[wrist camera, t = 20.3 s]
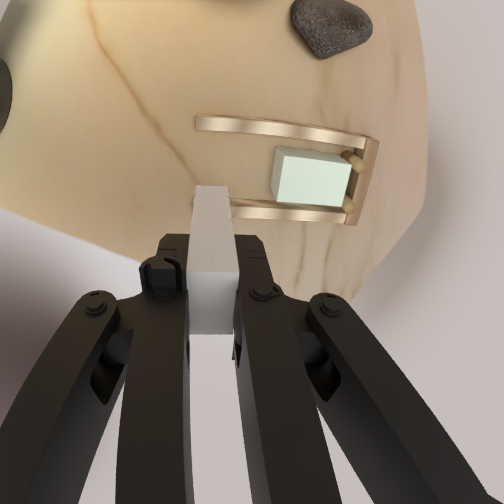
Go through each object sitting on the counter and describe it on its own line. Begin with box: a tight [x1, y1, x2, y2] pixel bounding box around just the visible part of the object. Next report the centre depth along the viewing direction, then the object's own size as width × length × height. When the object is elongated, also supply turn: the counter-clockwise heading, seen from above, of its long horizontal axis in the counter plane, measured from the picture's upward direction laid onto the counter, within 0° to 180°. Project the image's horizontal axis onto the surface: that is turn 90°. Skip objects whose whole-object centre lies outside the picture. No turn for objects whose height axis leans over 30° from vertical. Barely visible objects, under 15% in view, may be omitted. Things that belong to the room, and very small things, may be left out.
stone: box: [291, 0, 373, 59], centre depth 26 cm, size 10×8×10 cm
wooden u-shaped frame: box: [192, 115, 380, 226], centre depth 36 cm, size 24×13×5 cm, turn 83°
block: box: [270, 146, 352, 207], centre depth 37 cm, size 9×6×5 cm, turn 83°
